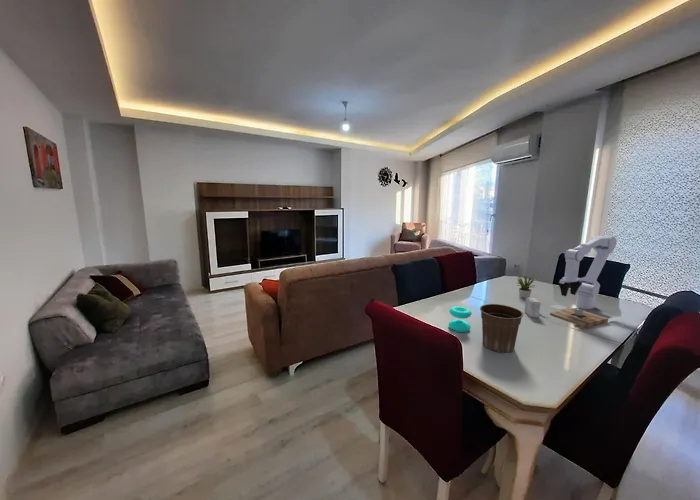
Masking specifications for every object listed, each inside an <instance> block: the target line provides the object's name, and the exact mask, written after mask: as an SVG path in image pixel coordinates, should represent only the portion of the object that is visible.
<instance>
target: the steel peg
mask: <svg viewBox="0 0 700 500" xmlns="http://www.w3.org/2000/svg"><path fill="white" fill-rule="evenodd" d="M574 308H575V312H574V316H576V317H579V318H584V317H583V311H584V309H583V308H579V307H574Z"/></svg>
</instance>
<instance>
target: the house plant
mask: <svg viewBox="0 0 700 500" xmlns="http://www.w3.org/2000/svg"><path fill="white" fill-rule="evenodd" d="M522 276H523V278H524V281H523V280H522V278H521V277H520V276H519V275H517V282H516V284H518V285H516V286H517V287H519V288H518V294H519V295H518V297H519V298H524V299H526V298H531V294H532V289H530V288H532V287H533V289H534V288H535V289H536V287H537V286H536V285H535V284H533V283H534V281H536V280H541V278H538V277H535V278H534V275H531V276H530V277H529V278H528V279H527V276H526V275H524V274H522ZM531 284H532V285H531ZM535 286H536V287H535Z"/></svg>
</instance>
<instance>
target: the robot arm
mask: <svg viewBox="0 0 700 500" xmlns="http://www.w3.org/2000/svg"><path fill="white" fill-rule="evenodd" d="M616 246H617V238H616V237H615V236H606V235H597V234H594V235H593V236H591V238H590V240H589V241H588V242H587V243H580V244H579V245H578V246H576V247H574V248H569V249H567V250H566V251H565V253H564V258H565V262H566V263H565V268H564V269H565V270H564V276H563V277H562V278H561V279H559V281H558V282H557V285H558V286H559V289H560V294H561V296H562V297H567V296H568V292H569V291H570V295H574V296H575V295H576V303H575V306H576V308H580V309H583V310H584V309H585V310H592V309H595V308H596V307H597V295H598V294H599V292H600V288H601V284H600V283H599V282H598V277H599V276H600V274H601V272H602V269H603V268H604V266H605V264H606V261H607V259H608V257H609V255H610V254H611V253H613V252H614V250H615V249H616ZM592 249H593V250H594V251H595V252H596V254H595V257H594V259H593V261H592V263H591V265H590V267H589V268H588V271H587V273H586V275H585V276H583V277H578V276H579V268H580V262H581V261H582V260H583V259H584V257H585V256H586V255H587V254H590V253H591V251H592ZM569 289H570V290H569Z"/></svg>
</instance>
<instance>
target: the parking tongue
mask: <svg viewBox="0 0 700 500" xmlns="http://www.w3.org/2000/svg"><path fill="white" fill-rule="evenodd" d="M549 308H553V309H556V310H558V311H562V310H567V309H569V306H568V307H567V306H565V305H562V304H561V305H560V304H553V305H549Z"/></svg>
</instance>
